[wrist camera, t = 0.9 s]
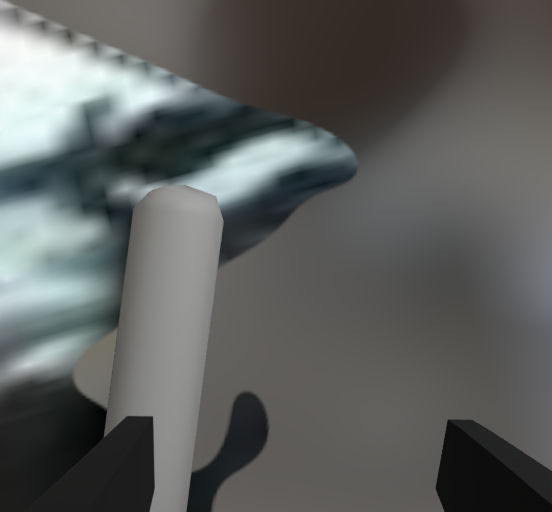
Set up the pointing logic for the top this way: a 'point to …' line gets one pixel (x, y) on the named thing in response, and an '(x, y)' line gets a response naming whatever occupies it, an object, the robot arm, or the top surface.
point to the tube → (167, 329)
